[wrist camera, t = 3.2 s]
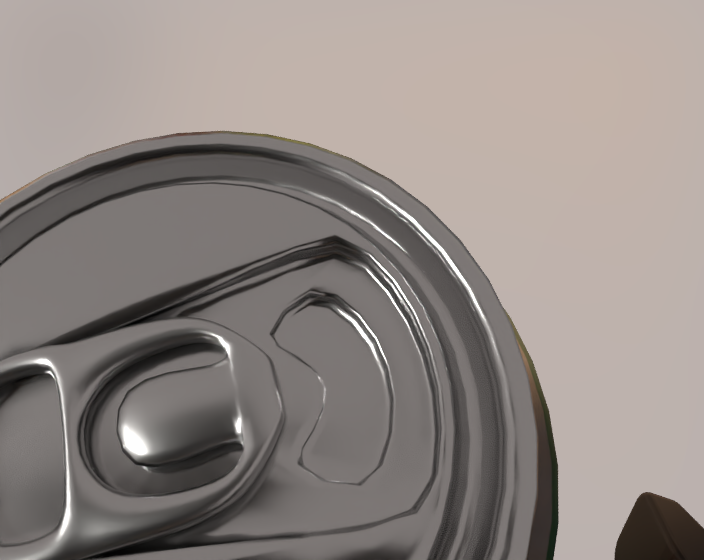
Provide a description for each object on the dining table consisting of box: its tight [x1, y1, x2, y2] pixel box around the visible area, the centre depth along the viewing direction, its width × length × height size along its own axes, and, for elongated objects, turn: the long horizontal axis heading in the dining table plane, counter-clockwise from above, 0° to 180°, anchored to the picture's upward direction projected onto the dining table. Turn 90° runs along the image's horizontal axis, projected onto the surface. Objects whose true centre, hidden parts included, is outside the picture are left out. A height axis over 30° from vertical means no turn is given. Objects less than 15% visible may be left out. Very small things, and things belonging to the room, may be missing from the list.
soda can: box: [0, 131, 558, 560], centre depth 9 cm, size 5×5×12 cm
